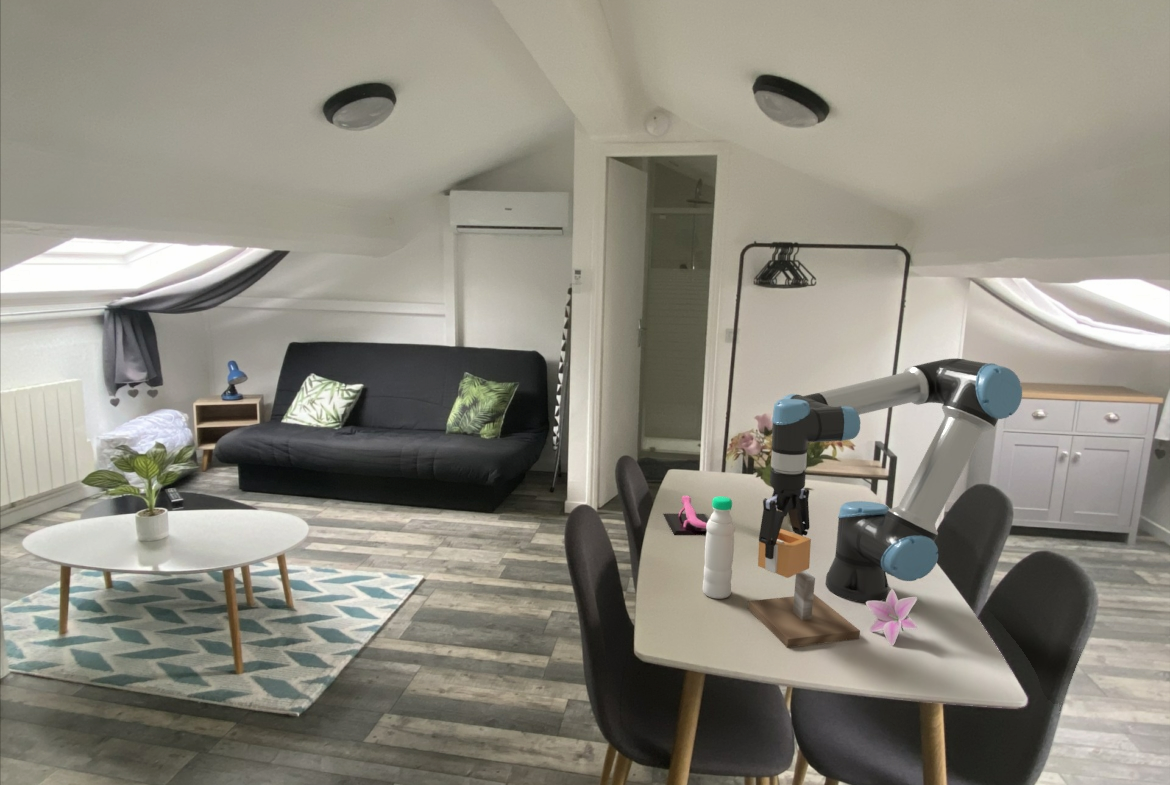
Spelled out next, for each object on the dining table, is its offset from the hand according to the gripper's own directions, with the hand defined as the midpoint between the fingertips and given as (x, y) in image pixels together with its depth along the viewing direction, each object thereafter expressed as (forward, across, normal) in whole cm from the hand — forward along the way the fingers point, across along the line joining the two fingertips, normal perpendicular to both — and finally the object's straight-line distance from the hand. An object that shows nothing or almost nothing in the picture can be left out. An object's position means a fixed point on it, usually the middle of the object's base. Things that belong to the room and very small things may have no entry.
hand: (783, 565), depth 157 cm
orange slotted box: (0, 0, 0) cm, 0 cm away
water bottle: (+14, 0, -19) cm, 24 cm away
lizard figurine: (+16, -31, -58) cm, 67 cm away
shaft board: (+15, -5, +2) cm, 16 cm away
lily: (+16, -17, +17) cm, 29 cm away
